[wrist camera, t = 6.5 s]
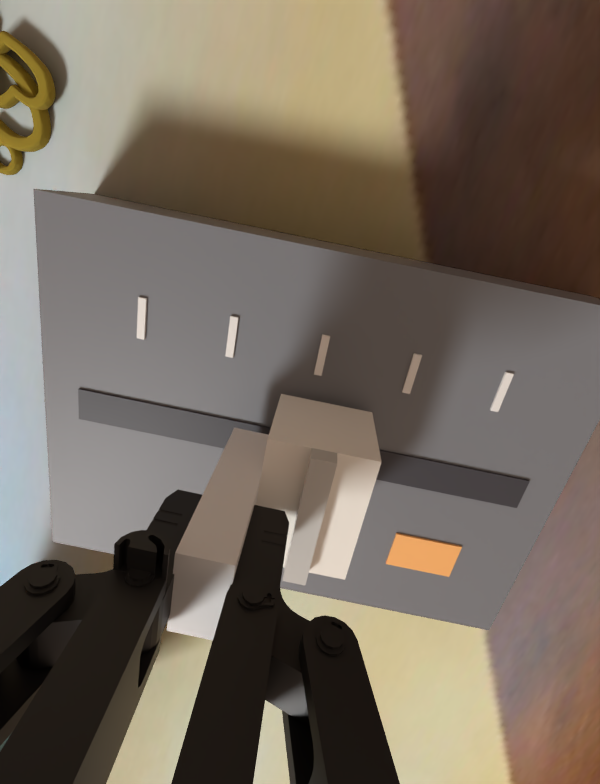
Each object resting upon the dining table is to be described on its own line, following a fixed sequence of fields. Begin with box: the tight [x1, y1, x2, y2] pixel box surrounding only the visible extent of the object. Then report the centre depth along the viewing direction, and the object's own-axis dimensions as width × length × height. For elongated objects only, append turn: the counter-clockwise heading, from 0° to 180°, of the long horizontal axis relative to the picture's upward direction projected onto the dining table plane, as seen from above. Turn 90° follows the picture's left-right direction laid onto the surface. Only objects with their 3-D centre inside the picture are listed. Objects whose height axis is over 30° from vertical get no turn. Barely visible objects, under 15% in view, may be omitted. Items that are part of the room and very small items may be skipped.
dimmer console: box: [34, 189, 600, 630], centre depth 20 cm, size 16×22×4 cm
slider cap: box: [256, 394, 381, 585], centre depth 16 cm, size 5×4×4 cm
